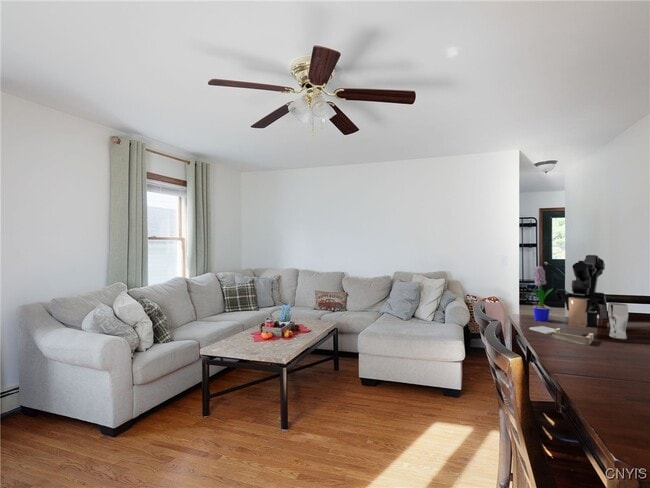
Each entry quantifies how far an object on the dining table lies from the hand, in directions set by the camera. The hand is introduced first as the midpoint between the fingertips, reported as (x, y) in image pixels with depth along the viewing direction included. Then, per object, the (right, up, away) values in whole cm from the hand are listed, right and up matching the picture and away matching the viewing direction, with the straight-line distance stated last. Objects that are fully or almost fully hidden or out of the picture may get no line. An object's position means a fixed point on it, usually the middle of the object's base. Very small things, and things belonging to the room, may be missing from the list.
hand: (577, 311), depth 158 cm
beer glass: (+16, -11, -3) cm, 20 cm away
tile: (-9, -11, +9) cm, 17 cm away
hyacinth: (+3, -11, +30) cm, 32 cm away
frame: (-7, -11, -6) cm, 14 cm away
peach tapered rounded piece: (+1, -7, +1) cm, 7 cm away
